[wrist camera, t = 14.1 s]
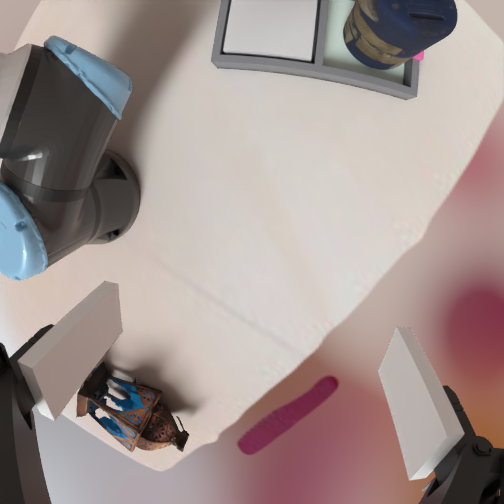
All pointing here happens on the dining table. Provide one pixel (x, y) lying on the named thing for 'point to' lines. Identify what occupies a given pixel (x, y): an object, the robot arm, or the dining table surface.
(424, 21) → the canister
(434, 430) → the robot arm
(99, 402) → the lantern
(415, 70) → the grey divided tray
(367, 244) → the dining table surface
